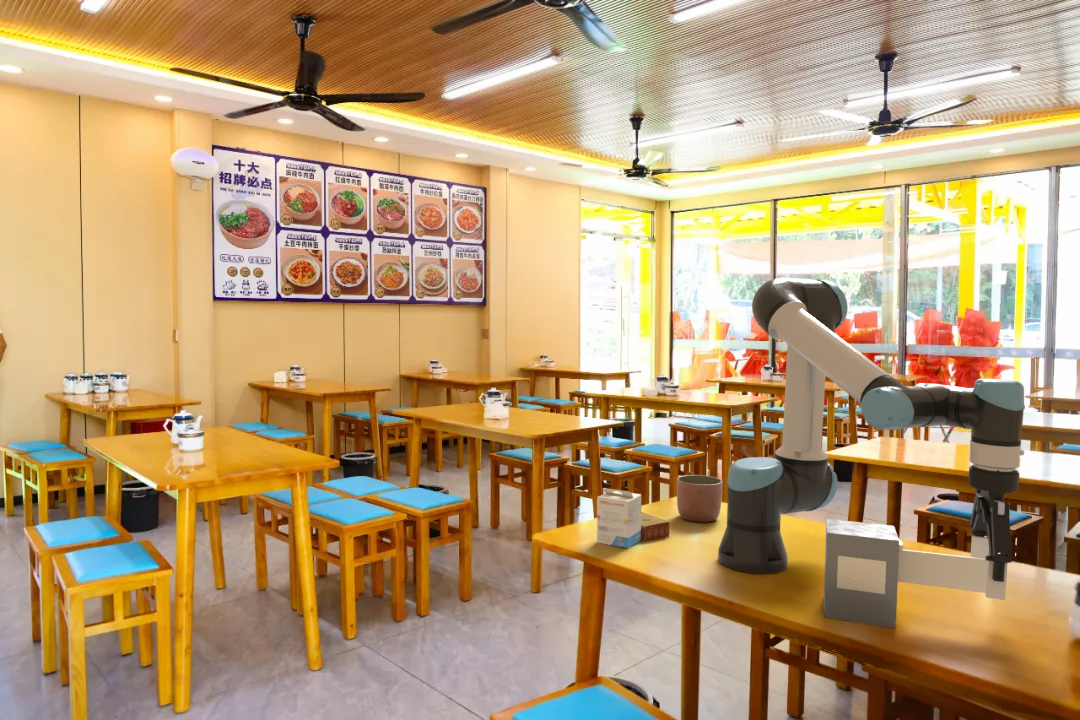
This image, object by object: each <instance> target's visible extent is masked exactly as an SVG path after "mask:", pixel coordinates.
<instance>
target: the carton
mask: <svg viewBox="0 0 1080 720" xmlns="http://www.w3.org/2000/svg"><path fill="white" fill-rule="evenodd" d="M669 537H670V521H668V520H665V519H663V518H659V517H657V516H654V515H650V514H649V513H645V512H642V511H641V540H640V541H643V542H649V541H652V540H653V541H654V540H658V539H664V538H669Z"/></svg>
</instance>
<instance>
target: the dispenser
mask: <svg viewBox="0 0 1080 720" xmlns="http://www.w3.org/2000/svg"><path fill="white" fill-rule="evenodd" d="M824 547H825V552H824V575H823V577H824V579H823V618H827V619H831V620H832V619H833V620H840V621H847V622H854V623H859V624H867V625H873V626H878V627H879V626H880V627H887V628H893V629H896V628H897V609H898V608H897V604H898V583H899V582H898V563H899V549H904V544H903V541H902V539H901V540H900V538H899V535H898V534H897V531H896V527H895V526H894V525H890V524H888V525H887V524H880V523H879V524H878V523H868V522H861V521H851V520H841V519H832V518H831V519H830V518H826V523H825V546H824Z"/></svg>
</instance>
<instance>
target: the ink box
mask: <svg viewBox="0 0 1080 720" xmlns="http://www.w3.org/2000/svg"><path fill="white" fill-rule="evenodd" d="M602 490H603V492H604V493H603V494H601V495H598V496H596V497H597V498H596V528H597V530H596V543H597V542H598V543H597V544H601V543H602V545H606V544H607V545H606V546H611V545H612V546H613V547H618V548H622V547H623V549H628V548H629V549H630V548H631V547H633V546H635V545H636V544H637V543H639V542H640V541H642V540H641V512H642V494H641V493H634V492H631V491H628V490H627V491H626V490H619V489H613V488H605V487H604V488H602Z"/></svg>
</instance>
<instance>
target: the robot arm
mask: <svg viewBox="0 0 1080 720" xmlns="http://www.w3.org/2000/svg"><path fill="white" fill-rule="evenodd" d="M751 302H752V303H751V312H752V315H753V318H754V319H755V321H756V324H757V325H758V326H759V327H760V328H761V330H763V331H764V332H765V333H766V334H767V335H768V336H770V337H771V338H772V339H773V340H775V341H783V342H784V343H786V345H787V348H786V349H787V350H786V365H785V366H786V367H785V368H786V369H785V388H784V389H785V390H784V405H783V424H782V445H781V446H779V447H778V449H776V450H775V451H774V452H775V453H774V457H765V456H757V457H756V456H755V457H753V456H751V457H745V458H741V459H737V460H736V461H733V462H732V463H731V464H730V466H729V468H728V477H727V480H726V481H727V482H726V483H727V507H726V509H727V510H726V528H725V531H724V534H723V536H722V538H721V541H720V545H719V546H718V551H717V552H718V553H717V555H718V556H717V560H718V562H719V563H720V564H721V565H723V566H725V567H727V568H729V569H732V570H735V571H740V572H744V573H751V574H765V575H767V574H775V573H779V572H783V571H785V570H786V569H787V568H788V559H789V558H788V554H787V551H786V547H785V544H784V540H783V537H782V533H781V520H782V519H781V518H782V517H781V516H782V515H787V514H793V513H800V512H812V511H815V510H817V509H821V508H825V507H827V505H829V504H830V503H831V502H832V501H833V499H834V498H835V495H836V493H837V489H838V476H837V473H836V472H834V468H833V466H832V464H831V463H830V462H828V460H829V456H828V454H827V453H826V452H825V451H824V450H823V449H822V443H823V442H822V441H823V440H822V438H823V423H824V405H825V392H826V391H825V389H826V387H825V385H826V377H827V378H828V379H830V380H831V381H832V382H833V383H835V385H837V386H838V387H839V388H841V389H842V390H843V391H844V392H845V393H847V395H849V396H850V397H851V398H853V399H854V400H855V401H856V402H857V403H859V404H860V412H861V414H862V416H863V418H864V421H865V422H866V423H867V424H868V425H869V426H871V427H872V428H874V429H877V430H889V431H895V430H896V431H897V430H902V429H914V428H923V427H926V428H927V427H939V426H945V427H953V428H960V429H964V430H971V431H970V441H969V443H970V444H969V457H968V458H969V459H968V461H969V462H970V463H971V464H970V466H969V467H968V478H967V481H968V482H967V483H968V485H969V487H971V488H973V489H975V495H974V500H973V507H972V513H971V518H970V522H969V528H970V530H971V544H970V545H971V546H970V557H974V558H983V559H985V560H986V561H988V566H987V581H986V593H985V597H986V598H988V599H995V600H1002V601H1005V600H1006V591H1007V575H1008V565H1009V564H1011V563H1012V561H1013V558H1012V557H1013V556H1012V555H1013V554H1012V542H1011V541H1012V539H1011V538H1012V537H1011V522H1010V520H1011V519H1010V511H1011V510H1010V509H1011V504H1010V502H1007V501H1005V497H1004V496H1005V494H1012V493H1016V492H1018V490H1019V484H1020V472H1019V470H1018V468H1020V463H1021V458H1020V456H1021V457H1022V456H1024V455H1025V450H1024V449H1022V433H1023V422H1024V411H1025V409H1026V406H1025V387H1024V384H1023V383H1022V382H1020V381H1017V380H1012V379H999V378H978V379H976V380H975V381H974V385H973V387H961V386H955V385H954V386H953V385H947V384H946V385H945V384H941V383H937V382H936V383H933V382H932V383H931V382H930V383H929V382H928V383H927V382H926V383H924V382H923V383H921V382H920V383H917V384H915V385H914V386H913V385H911V386H907V385H905V384H903V383H901V382H900V381H899V380H897V379H896V378H894V377H893V376H892V375H890V374H889V373H888V372H887V371H885V370H884V369H883V368H881V367H880V366H878V364H876V363H875V362H874V361H872V360H870V359H869V358H868V357H867V356H865V354H863V353H861V352H860V351H859V350H857V349H856V348H855V347H854V346H853V345H851V344H849V343H848V342H847V341H846V340H844V339H843V338H842V337H840V336H839V335H838V334H837V333H836V330H837V329H838V328H840V327H841V326H842V325H843V324H842V323H843V322H845V320H846V318H847V315H848V301H847V298H846V295H845V293H844V292H843V290H842V289H841V288H840V287H839V286H838V285H837V284H836V283H834V282H833V281H830V280H824V279H820V278H798V277H796V278H793V277H792V278H791V277H775V278H772V279H770V280H767V281H766V282H764V283H763V284H762V285H761V286H759V288H758V289H757V291H756V292H755V293H754V295H753V298H752V301H751ZM1008 563H1009V564H1008Z"/></svg>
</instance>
